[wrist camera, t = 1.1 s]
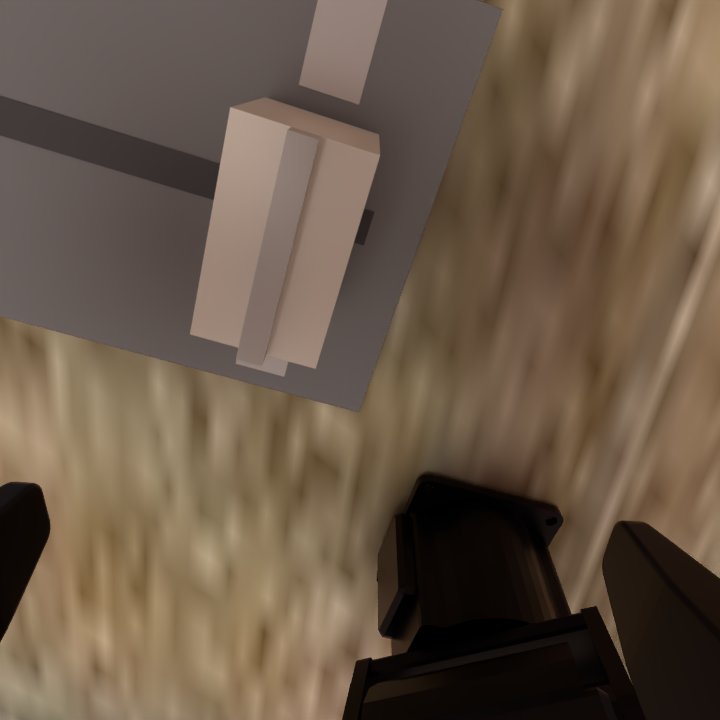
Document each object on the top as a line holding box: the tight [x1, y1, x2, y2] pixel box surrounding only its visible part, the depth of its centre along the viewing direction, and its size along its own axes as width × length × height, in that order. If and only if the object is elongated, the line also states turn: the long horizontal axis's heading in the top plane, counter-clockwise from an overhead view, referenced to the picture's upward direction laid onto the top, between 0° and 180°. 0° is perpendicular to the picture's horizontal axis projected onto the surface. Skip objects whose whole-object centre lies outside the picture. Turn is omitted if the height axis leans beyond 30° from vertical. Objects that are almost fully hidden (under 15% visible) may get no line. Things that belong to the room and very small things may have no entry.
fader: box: [190, 97, 380, 369], centre depth 14 cm, size 3×5×4 cm, turn 163°
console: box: [0, 0, 503, 412], centre depth 16 cm, size 20×12×3 cm, turn 73°
